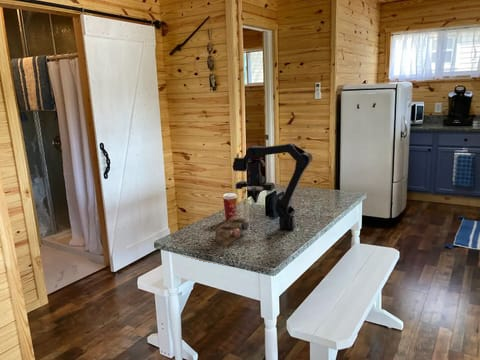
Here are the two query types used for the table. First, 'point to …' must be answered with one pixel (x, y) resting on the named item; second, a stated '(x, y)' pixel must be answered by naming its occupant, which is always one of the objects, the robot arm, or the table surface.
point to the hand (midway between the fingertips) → (255, 202)
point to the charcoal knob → (244, 225)
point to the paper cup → (230, 205)
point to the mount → (228, 231)
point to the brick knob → (235, 233)
